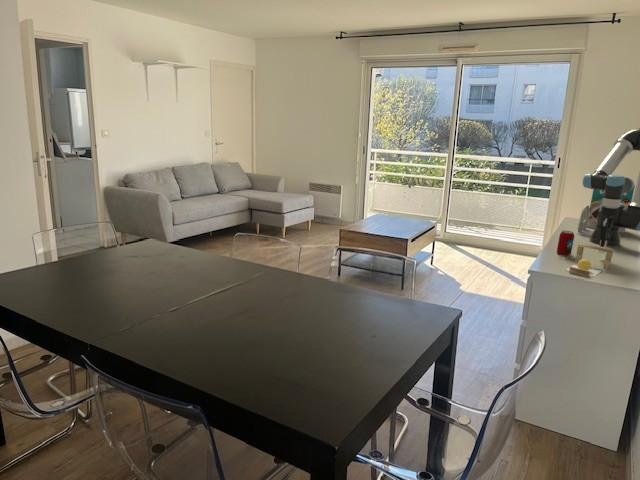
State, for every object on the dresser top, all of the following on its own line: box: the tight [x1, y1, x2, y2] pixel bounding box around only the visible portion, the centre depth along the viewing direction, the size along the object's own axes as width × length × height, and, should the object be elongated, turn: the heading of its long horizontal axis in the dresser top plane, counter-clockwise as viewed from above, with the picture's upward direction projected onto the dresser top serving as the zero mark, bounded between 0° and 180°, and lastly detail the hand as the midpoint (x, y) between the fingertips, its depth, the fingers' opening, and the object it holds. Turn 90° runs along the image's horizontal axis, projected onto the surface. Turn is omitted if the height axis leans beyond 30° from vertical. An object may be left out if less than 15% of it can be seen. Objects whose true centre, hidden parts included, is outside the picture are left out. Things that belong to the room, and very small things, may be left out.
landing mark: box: [565, 264, 602, 278], centre depth 224 cm, size 12×12×1 cm
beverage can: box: [556, 230, 575, 257], centre depth 249 cm, size 7×7×12 cm
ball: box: [576, 258, 592, 270], centre depth 224 cm, size 6×6×6 cm
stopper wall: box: [568, 266, 590, 278], centre depth 218 cm, size 2×8×2 cm, turn 48°
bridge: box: [574, 242, 614, 270], centre depth 233 cm, size 3×14×9 cm, turn 48°
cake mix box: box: [586, 184, 636, 234], centre depth 311 cm, size 22×6×30 cm, turn 58°
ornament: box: [576, 204, 595, 237], centre depth 299 cm, size 22×13×17 cm, turn 137°
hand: (601, 252), depth 245 cm, fingers closed
